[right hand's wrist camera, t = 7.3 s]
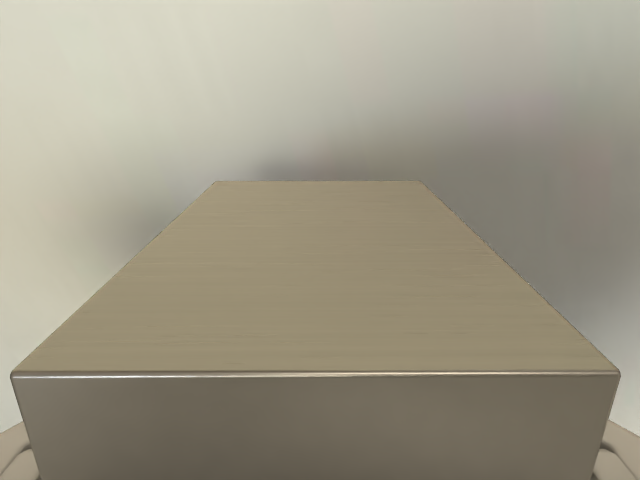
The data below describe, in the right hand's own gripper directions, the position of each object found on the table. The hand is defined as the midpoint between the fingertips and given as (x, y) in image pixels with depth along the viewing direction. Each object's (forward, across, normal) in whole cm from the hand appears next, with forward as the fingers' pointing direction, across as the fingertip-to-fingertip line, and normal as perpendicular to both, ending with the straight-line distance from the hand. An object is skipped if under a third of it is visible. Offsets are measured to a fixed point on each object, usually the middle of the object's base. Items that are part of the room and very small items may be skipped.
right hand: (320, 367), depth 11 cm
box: (+4, 0, -10) cm, 11 cm away
